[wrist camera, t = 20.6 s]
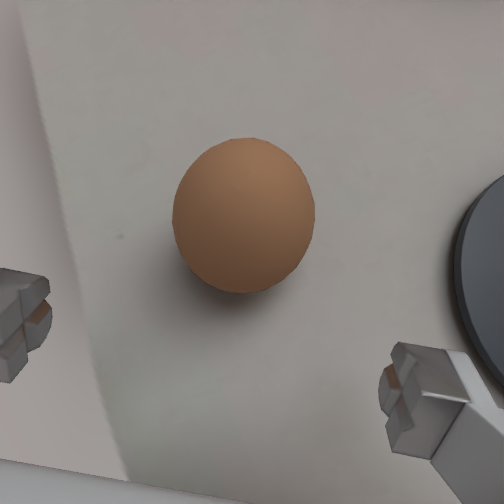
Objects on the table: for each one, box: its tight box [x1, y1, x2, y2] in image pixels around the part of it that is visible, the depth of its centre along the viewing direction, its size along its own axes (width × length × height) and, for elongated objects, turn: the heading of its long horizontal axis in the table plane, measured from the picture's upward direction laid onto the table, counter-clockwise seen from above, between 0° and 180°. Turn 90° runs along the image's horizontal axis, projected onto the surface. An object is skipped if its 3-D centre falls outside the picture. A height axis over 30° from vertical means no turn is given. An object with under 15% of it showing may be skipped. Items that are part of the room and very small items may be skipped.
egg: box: [172, 138, 315, 293], centre depth 15 cm, size 5×5×8 cm
